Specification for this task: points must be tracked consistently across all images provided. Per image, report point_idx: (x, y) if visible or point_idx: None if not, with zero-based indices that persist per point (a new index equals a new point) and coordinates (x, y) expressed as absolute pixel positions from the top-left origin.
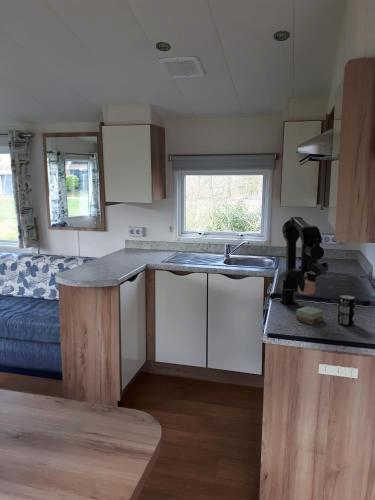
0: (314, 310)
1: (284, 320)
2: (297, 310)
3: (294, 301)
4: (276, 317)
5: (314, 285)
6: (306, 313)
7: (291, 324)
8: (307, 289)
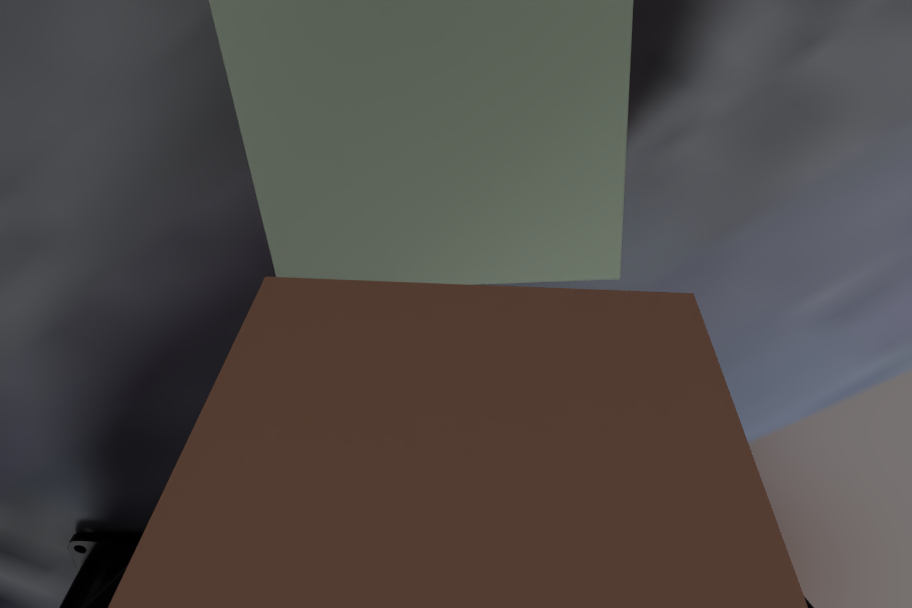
0: (367, 45)
1: (773, 255)
2: (617, 253)
3: (94, 567)
4: (739, 379)
5: (198, 522)
6: (629, 47)
7: (872, 84)
8: (736, 444)
